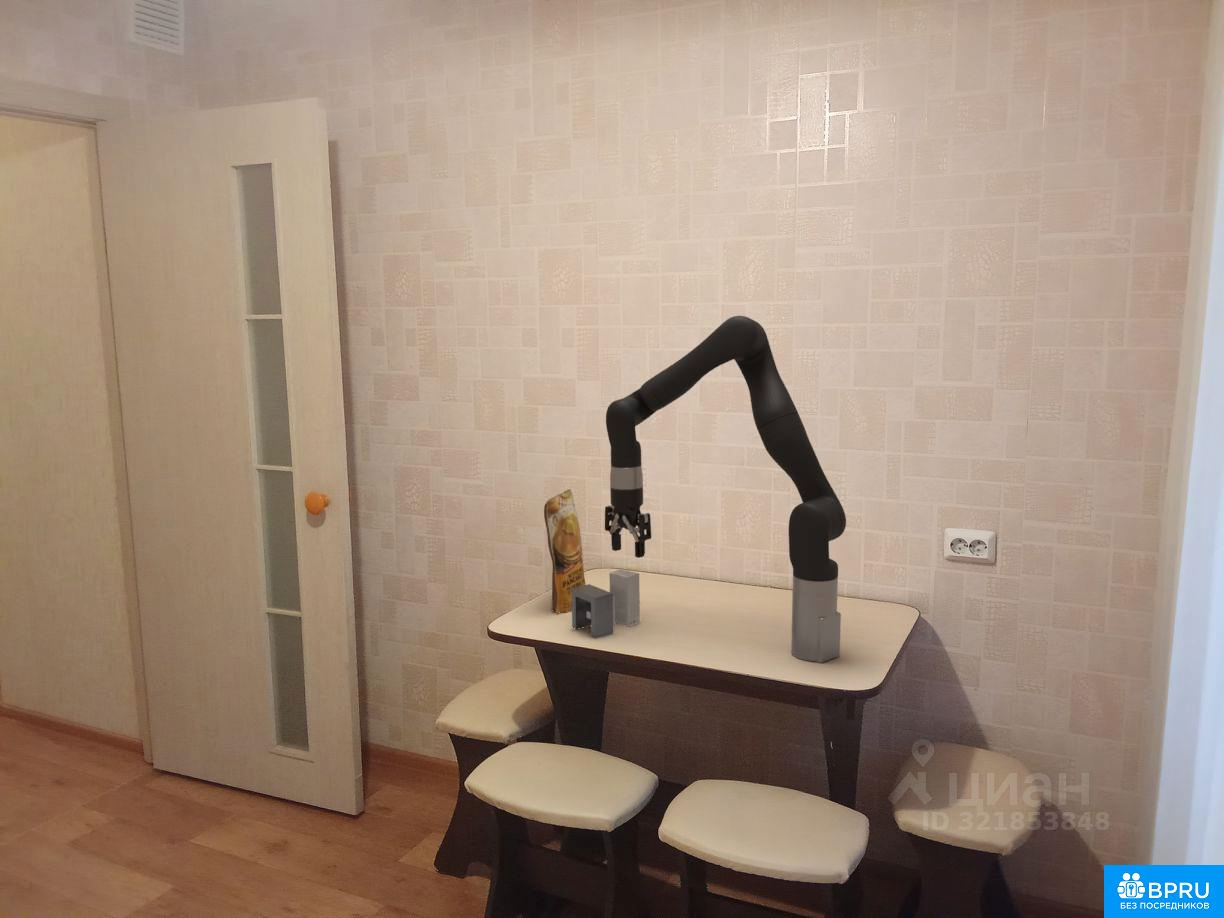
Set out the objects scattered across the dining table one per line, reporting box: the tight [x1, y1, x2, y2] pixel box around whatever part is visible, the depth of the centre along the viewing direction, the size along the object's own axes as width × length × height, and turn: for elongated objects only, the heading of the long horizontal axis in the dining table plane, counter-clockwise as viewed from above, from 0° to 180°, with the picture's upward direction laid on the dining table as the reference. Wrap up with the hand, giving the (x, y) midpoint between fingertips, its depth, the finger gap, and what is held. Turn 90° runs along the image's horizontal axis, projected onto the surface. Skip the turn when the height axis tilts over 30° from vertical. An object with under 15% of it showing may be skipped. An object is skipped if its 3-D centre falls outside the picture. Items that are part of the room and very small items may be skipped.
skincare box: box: [608, 568, 641, 628], centre depth 215 cm, size 6×4×12 cm
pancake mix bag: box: [543, 489, 587, 615], centre depth 227 cm, size 7×19×28 cm, turn 156°
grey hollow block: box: [571, 583, 614, 640], centre depth 213 cm, size 12×11×10 cm
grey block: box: [586, 596, 616, 628], centre depth 213 cm, size 10×6×7 cm, turn 37°
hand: (627, 553), depth 214 cm, fingers open, 8 cm apart
